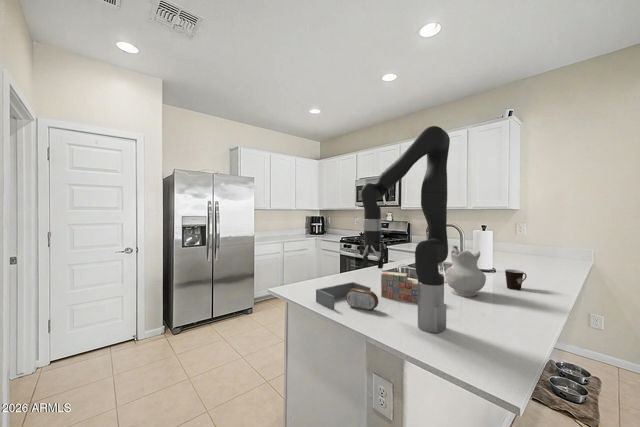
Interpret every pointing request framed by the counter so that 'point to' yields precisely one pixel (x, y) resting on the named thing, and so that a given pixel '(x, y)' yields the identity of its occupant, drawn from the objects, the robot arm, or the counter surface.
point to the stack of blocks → (398, 286)
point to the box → (336, 293)
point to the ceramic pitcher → (465, 273)
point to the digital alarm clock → (362, 299)
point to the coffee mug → (514, 279)
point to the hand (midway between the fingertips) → (372, 266)
